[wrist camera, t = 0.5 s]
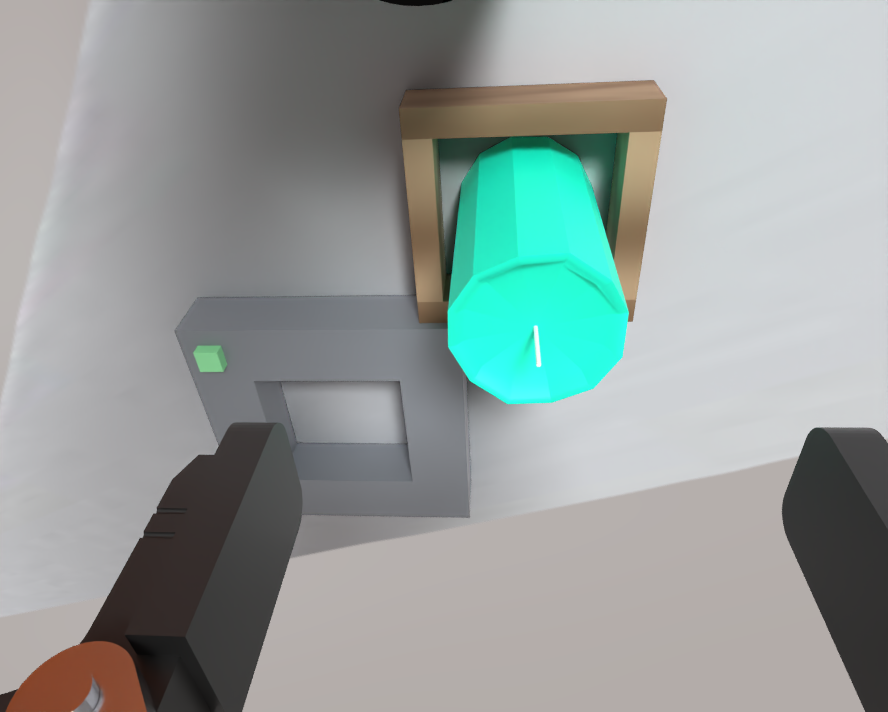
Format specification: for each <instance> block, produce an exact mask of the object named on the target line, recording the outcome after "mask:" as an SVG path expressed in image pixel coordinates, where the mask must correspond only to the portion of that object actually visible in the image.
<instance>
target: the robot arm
mask: <svg viewBox="0 0 888 712" xmlns="http://www.w3.org/2000/svg"><path fill="white" fill-rule="evenodd" d="M302 505H303V498H302V489H301V484H300V480H299V477H298V473H297V469H296V466H295V462H294V458H293V454H292V451H291V447H290V443H289V439H288V436H287V432H286V429H285V427H284V425H283V424H282V423H266V422H235V423H232V424H231V425H230V426H229V427H228V429H227V431H226V433H225V435H224V437H223V439H222V441H221V443H220V445H219V447H218V449H217V451H216V453H215V455H198V456H197V457H196V458H195V459H194V460H193V461H192V462H191V463H190V464H188V465H187V466H186V467H185V468H184V469H183V470H182V471H181V472H180V473H179V474H178V475H177V476H176V477H174V478H173V479H172V481H171V483H170V485H169V487H168V488H167V490H166V492H165V494H164V496H163V497H162V499H161V501H160V503H159V505H158V506H157V513H156V514H153V516H152V517H151V519H150V521H149V523H148V525H147V526H146V528H145V530H144V536H143V538H140V539H139V541H138V543H137V545H136V546H135V548H134V550H133V552H132V554H131V555H130V557H129V559H128V561H127V563H126V564H125V566H124V568H123V570H122V572H121V574H120V575H119V577H118V579H117V581H116V583H115V584H114V586H113V588H112V590H111V592H110V593H109V595H108V597H107V599H106V601H105V603H104V605H103V606H102V608H101V610H100V612H99V614H98V615H97V617H96V619H95V621H94V622H93V624H92V626H91V628H90V630H89V631H88V633H87V635H86V636H85V638H84V639H83V640H82V642H81V643H80V644H79V645H76V646H73V647H70V648H68V649H66V650H64V651H61V652H60V653H58V654H57V655H55V656H53V657H51V658H50V659H48V660H47V661H46V662H44V663H43V664H42V665H40V666H39V667H38V668H37V669H36V670H35V671H34V672H32V673H31V675H30V676H29V677H28V678H27V679H26V680H25V681H24V682H23V683H22V684H21V686H20V687H19V689H17V690H14V691H11V692H8V693H5V694H1V695H0V712H242V710H243V707H244V703H245V700H246V697H247V694H248V690H249V687H250V684H251V681H252V678H253V674H254V671H255V668H256V665H257V661H258V658H259V655H260V652H261V649H262V646H263V642H264V639H265V636H266V633H267V629H268V626H269V623H270V620H271V616H272V613H273V610H274V607H275V604H276V600H277V597H278V594H279V591H280V588H281V584H282V581H283V578H284V575H285V572H286V568H287V565H288V562H289V559H290V555H291V552H292V549H293V546H294V543H295V539H296V536H297V533H298V530H299V526H300V522H301V516H302ZM782 517H783V524H784V529H785V533H786V536H787V538H788V541H789V543H790V546H791V548H792V550H793V552H794V554H795V557H796V559H797V561H798V563H799V565H800V568H801V570H802V572H803V574H804V577H805V579H806V581H807V583H808V585H809V588H810V590H811V592H812V594H813V597H814V599H815V601H816V603H817V605H818V608H819V610H820V612H821V614H822V617H823V619H824V621H825V623H826V625H827V628H828V630H829V632H830V634H831V637H832V639H833V641H834V643H835V645H836V647H837V650H838V652H839V654H840V657H841V659H842V661H843V663H844V665H845V668H846V670H847V672H848V674H849V676H850V679H851V681H852V683H853V685H854V688H855V690H856V692H857V694H858V697H859V699H860V701H861V703H862V705H863V708H864V710H865V712H888V443H887V442H886V440H885V439H884V437H883V436H882V435H881V434H880V433H879V432H878V431H877V430H875V429H872V428H814V429H812V430H811V431H810V433H809V434H808V436H807V438H806V440H805V443H804V446H803V448H802V451H801V453H800V456H799V459H798V461H797V464H796V466H795V469H794V472H793V474H792V477H791V479H790V482H789V485H788V487H787V490H786V492H785V495H784V499H783V505H782Z"/></svg>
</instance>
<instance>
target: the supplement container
mask: <svg viewBox="0 0 888 712" xmlns="http://www.w3.org/2000/svg"><path fill="white" fill-rule="evenodd" d="M380 1H384V2H388V3H392V4H399V5H408V6H424V5H435V4H440V3H445V2H449V1H452V0H380Z"/></svg>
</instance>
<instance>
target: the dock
mask: <svg viewBox="0 0 888 712" xmlns="http://www.w3.org/2000/svg"><path fill="white" fill-rule="evenodd" d="M175 333H176V336H177V339H178V341H179V344H180V346H181V349H182V352H183V354H184V357H185V359H186V362H187V364H188V367H189V370H190V372H191V375H192V377H193V380H194V383H195V385H196V388H197V390H198V393H199V396H200V398H201V401H202V403H203V406H204V408H205V411H206V414H207V416H208V419H209V421H210V424H211V427H212V429H213V432H214V434H215V437H216V440H217V442H218V445H220V443H221V441H222V439H223V437H224V435H225V433H226V431H227V429H228V427H229V426H230V425H231V424H232V423H235V422H266V423H282V424H283V425H284V427H285V429H286V432H287V436H288V439H289V443H290V447H291V451H292V454H293V458H294V462H295V466H296V469H297V473H298V477H299V480H300V484H301V489H302V498H303V505H302V515H351V516H406V517H461V518H470V495H471V465H470V442H469V418H468V395H467V375H466V374H465V372H464V371H463V369H462V368H461V366H460V365H459V363H458V362H457V360H456V358H455V357H454V355H453V354H452V352H451V351H450V349H449V348H448V323H419V315H418V304H417V295H388V296H303V297H217V298H197V299H196V300H195V302H194V303H193V305H192V306H191V308H190V309H189V311H188V312H187V314H186V315H185V316H184V318H183V319H182V321H181V322H180V324H179V325H178V327H177V328H176V330H175ZM280 381H400V387H401V395H402V402H403V410H404V418H405V426H406V434H407V442H408V444H347V443H297V441H296V437H295V434H294V430H293V427H292V423H291V420H290V416H289V412H288V409H287V405H286V402H285V398H284V394H283V391H282V387H281V384H280Z"/></svg>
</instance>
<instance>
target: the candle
mask: <svg viewBox="0 0 888 712" xmlns="http://www.w3.org/2000/svg"><path fill="white" fill-rule="evenodd" d="M628 315H629V311H628V308H627V304H626V301H625V298H624V294H623V291H622V287H621V284H620V280H619V277H618V274H617V270H616V267H615V263H614V260H613V257H612V253H611V250H610V246H609V243H608V239H607V236H606V233H605V229H604V226H603V222H602V219H601V216H600V212H599V209H598V205H597V202H596V198H595V195H594V192H593V188H592V185H591V183H590V181H589V179H588V176H587V174H586V172H585V170H584V168H583V166H582V163H581V161H580V159H579V157H578V155H576V154H575V153H573V152H572V151H570V150H568V149H567V148H565V147H564V146H562V145H560V144H559V143H557V142H556V141H554V140H552V139H551V138H549V137H521V136H511V137H510V138H508V139H506V140H504V141H502V142H500V143H499V144H497V145H495V146H493V147H491V148H489V149H487V150H486V151H484V152H482V153H480V154H479V156H478V157H477V159H476V160H475V162H474V164H473V165H472V167H471V168H470V170H469V172H468V173H467V175H466V177H465V178H464V180H463V181H462V184H461V193H460V202H459V212H458V221H457V230H456V239H455V248H454V258H453V267H452V276H451V285H450V295H449V304H448V348H449V349H450V351H451V352H452V354H453V355H454V357H455V358H456V360H457V362H458V363H459V365H460V366H461V368H462V369H463V371H464V372H465V374H466V375H467V377H468V379H469V380H470V381H471V382H472V383H474V384H476V385H477V386H479V387H481V388H482V389H484V390H485V391H487V392H489V393H490V394H492V395H494V396H495V397H497V398H498V399H500V400H502V401H503V402H505V403H507V404H526V403H552V402H555V401H558V400H561V399H564V398H567V397H570V396H573V395H576V394H579V393H582V392H585V391H588V390H591V389H593V388H594V387H595V386H596V385H597V384H598V383H599V382H600V381H601V380H602V379H603V378H604V377H605V375H606V374H607V373H608V372H609V371H610V370H611V369H612V368H613V367H614V366H615V365H616V364H617V362H618V361H619V360H620V359H621V358H622V356H623V349H624V342H625V336H626V329H627V322H628Z"/></svg>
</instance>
